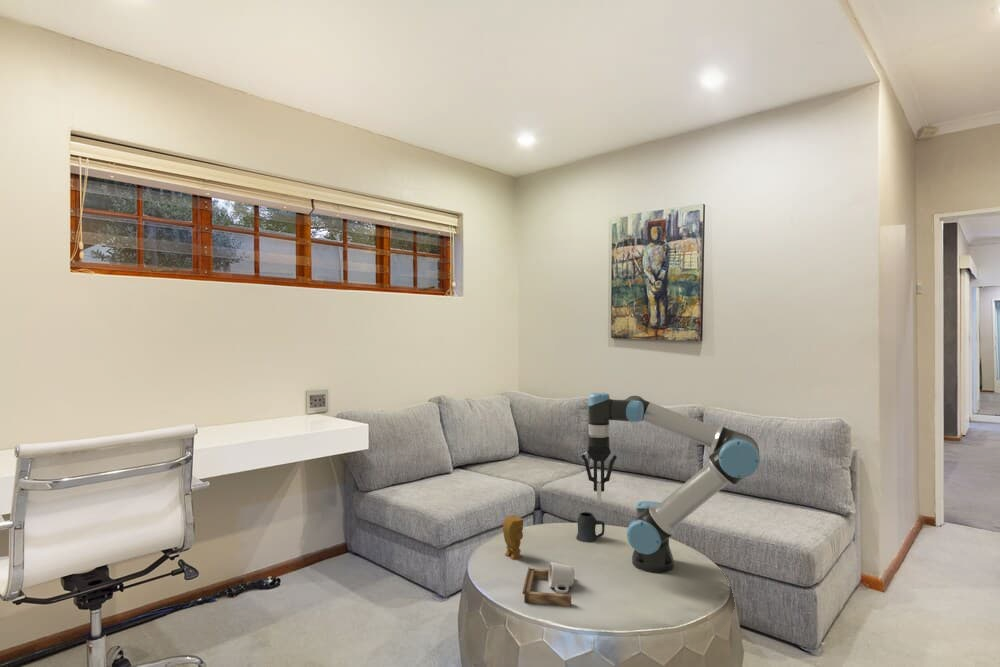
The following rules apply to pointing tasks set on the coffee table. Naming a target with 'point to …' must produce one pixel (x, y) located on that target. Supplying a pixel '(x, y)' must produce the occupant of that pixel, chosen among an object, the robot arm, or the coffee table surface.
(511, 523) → the figurine
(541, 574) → the brown wooden open frame
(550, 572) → the cup
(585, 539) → the mug
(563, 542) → the coffee table surface
